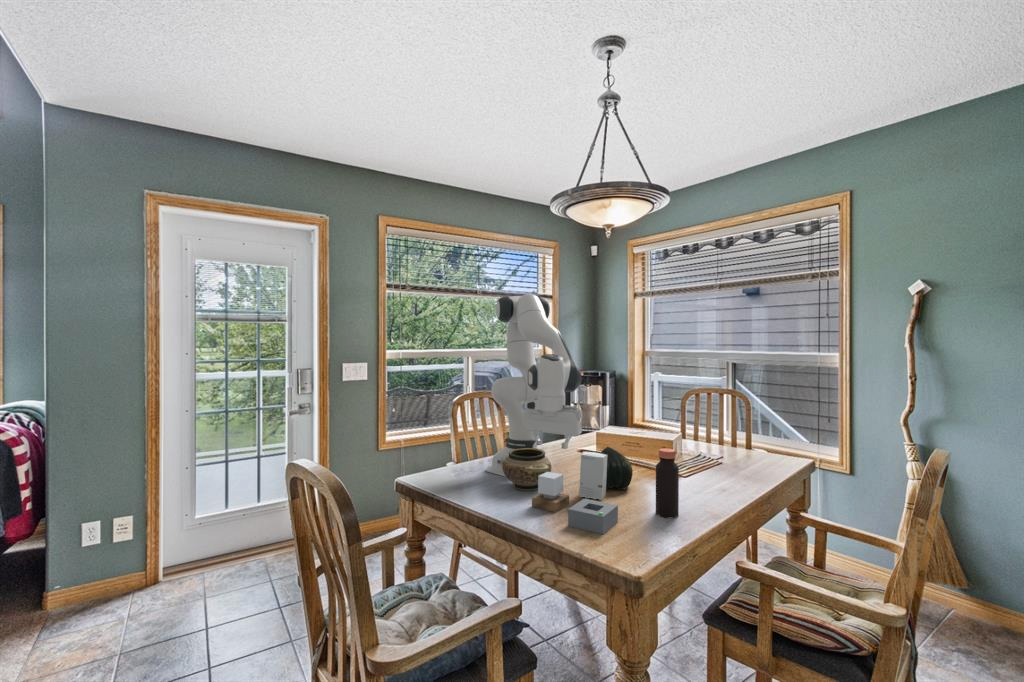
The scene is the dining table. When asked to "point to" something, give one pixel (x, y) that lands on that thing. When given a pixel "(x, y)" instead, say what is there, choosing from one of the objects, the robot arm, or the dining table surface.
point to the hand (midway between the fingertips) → (551, 446)
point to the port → (593, 516)
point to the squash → (617, 469)
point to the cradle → (550, 502)
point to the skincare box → (593, 475)
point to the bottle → (667, 484)
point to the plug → (550, 484)
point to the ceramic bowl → (526, 467)
